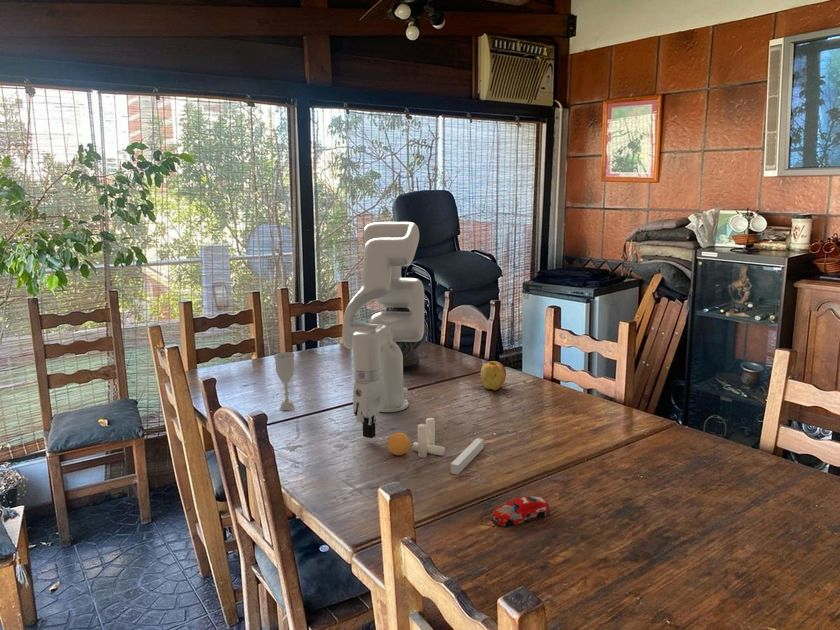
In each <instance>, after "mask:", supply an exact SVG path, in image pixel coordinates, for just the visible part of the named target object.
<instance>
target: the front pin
mask: <svg viewBox="0 0 840 630" xmlns="http://www.w3.org/2000/svg"><path fill="white" fill-rule="evenodd" d="M412 451H413V452H414V451H415V452H418V441H414V442H413V443H412ZM445 452H446V448H445V446H440V445H436V444H435V445H430V444H427V454H430V455H435V456H441V457H442V456H444V455H445Z"/></svg>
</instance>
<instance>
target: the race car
mask: <svg viewBox="0 0 840 630" xmlns="http://www.w3.org/2000/svg"><path fill="white" fill-rule="evenodd" d="M549 514H550V505H549V502H547V500H546V499H544V498H543V497H541V496H540V497H539V496H532V495H530V496H521V497H517V498H514V499H513V500H510V501H509V500H507V502H506V504H503V505H502V506H498V507H496V508H495V509H494V510H493V512H492V520H493V522H494V523H495V524H496V525H498V526H502V527H506V528H509V527H513V526H515V525H519V524H523V523H526V522H531V521H535V520H539V519H544V517H547V516H548V515H549Z"/></svg>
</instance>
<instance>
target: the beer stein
mask: <svg viewBox="0 0 840 630" xmlns="http://www.w3.org/2000/svg"><path fill="white" fill-rule="evenodd" d="M388 312H410V309H409V308H401V307H392V309H390V310H389V311H388ZM428 332H429V331H428V324H427V322H426V320H425V319H424V335H423V338H422V339H421V340H420V341H417V342H395V343H396V344H397V345H398V346H399V348H400V349H401V352H402V355H403V371H405V372H409V371H408V370H411V371H413V369H414V370H416V369H418V367H419V364H420V356H419V353H418V348H419V346H421V345H422V344H423V342H424V341H425V340H426V338H427V335H428ZM415 368H416V369H415Z"/></svg>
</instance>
